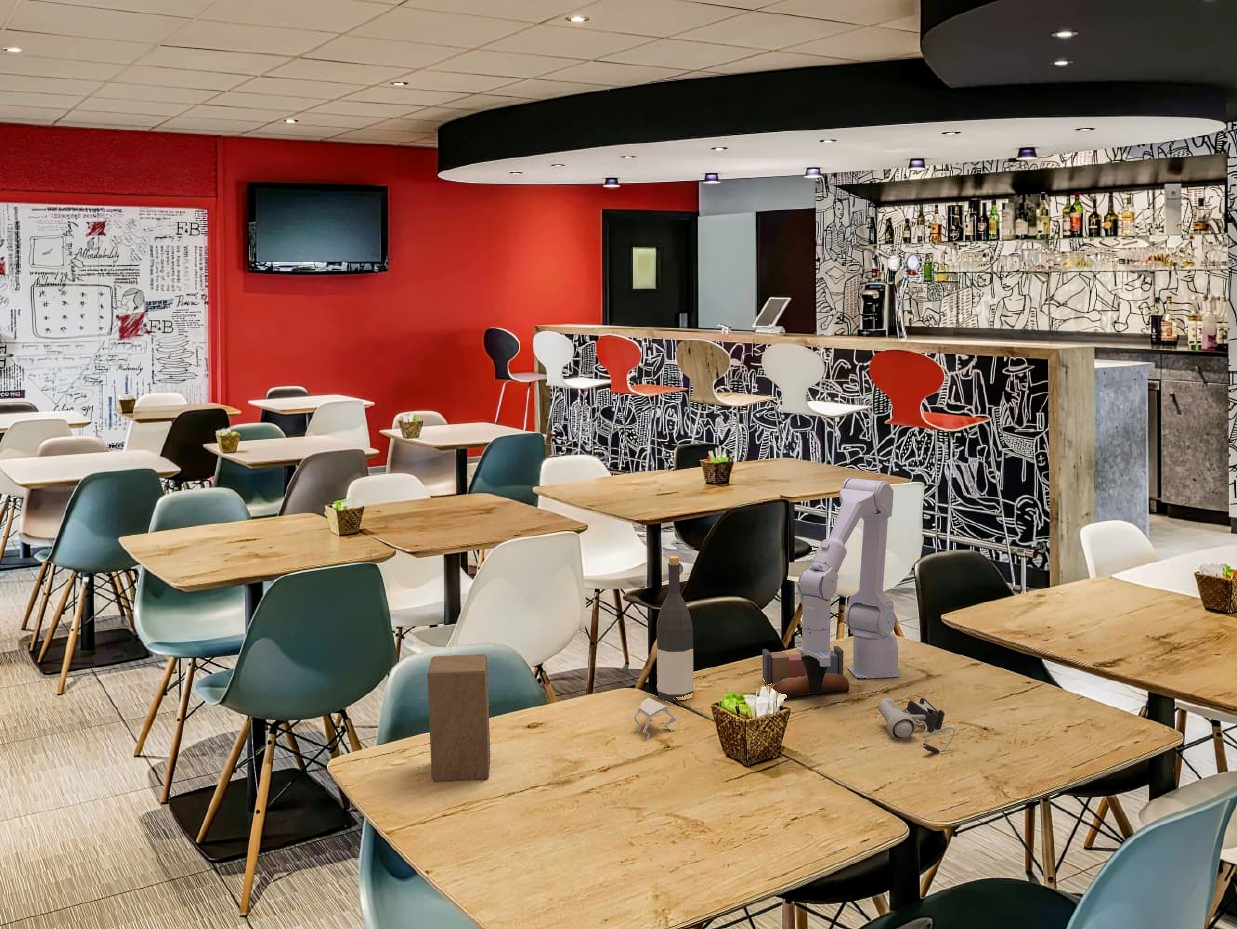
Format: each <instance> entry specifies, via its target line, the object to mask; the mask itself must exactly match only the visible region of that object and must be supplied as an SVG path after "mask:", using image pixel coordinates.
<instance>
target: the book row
mask: <svg viewBox="0 0 1237 929" xmlns="http://www.w3.org/2000/svg"><path fill="white" fill-rule="evenodd" d="M802 656H808V655H807V654H805V653H797V654H795V653H794V654H787V653H786V652H785V651H778V652H777V651H775V652H774V651H772V652H770V651H769V649H767V648H763V649H762V679H763V678H764V680H765V682H766V684H767V685H768V684H771V683H772V684H775V683H778V682H779V681H781V680H783V679H786V678H797V677H798V676H803V677H804V676H807V672H806V669H805V666H804V664H803V661H802V660H801V657H802ZM830 657H831V663H830V666H829V667H828V668H827V670H826V673H834V674H841V675H844V650H843V649H842V648H841V647H840V646H839V645H833V650H832V649H831V653H830ZM766 684H765V685H766Z"/></svg>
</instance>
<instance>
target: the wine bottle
mask: <svg viewBox="0 0 1237 929" xmlns="http://www.w3.org/2000/svg"><path fill="white" fill-rule="evenodd" d="M679 559H680V558H679V556H675V555H671V556H669V557H668V563H667V567H668V592H667V595H666V597H665V599H664V601H663V602H662V605H661V606H660V609H659V612H658V616H657V620H656V676H657V678H656V682H657V684H656V685H657V697H658V699H660V700H663V701H667V702H677V701H676V700H678V699H677V698H676V697H682V696H683V697H684V696H685V695H688V694H691V693H693V694H694V628H693V627H694V626H693V622H692V618H691V614H690V611H689V608H688V605H687V604H686V601H685V600H684V598H683V597H682V594H681V590H680V589H681V584H680V582H681V581H680V578H681V577H680V576H681V575H680V572H681V570H680V568H681V564H680V562H679ZM673 698H674V699H675V700H674V699H673Z"/></svg>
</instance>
